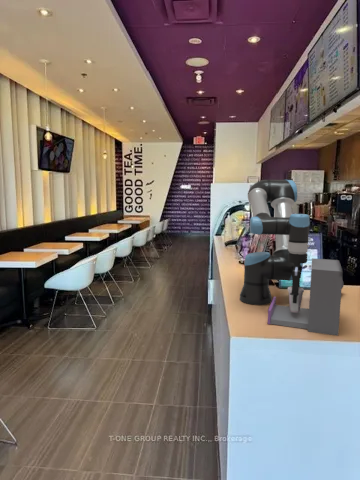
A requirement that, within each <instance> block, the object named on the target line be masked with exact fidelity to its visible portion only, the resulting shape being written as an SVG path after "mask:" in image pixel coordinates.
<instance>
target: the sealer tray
mask: <svg viewBox="0 0 360 480" xmlns="http://www.w3.org/2000/svg"><path fill="white" fill-rule="evenodd" d="M308 318H309V308H306V307H300V311H299V312H298V313H294V312H291V311H290V305H289V306H288V305H279V304H277V296H273V298H272V302H271V303H270V305H269V307H268V309H267V324H268V325H275V326H277V325H278V326H282V327H283V326H284V327H290V328H292V327H293V328H297V329H306V330H308Z"/></svg>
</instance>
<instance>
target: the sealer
mask: <svg viewBox="0 0 360 480" xmlns="http://www.w3.org/2000/svg"><path fill="white" fill-rule="evenodd" d="M343 274H344V271H343V268H342V266H341V262H340V260H338V259H329V258H327V259H325V258H311V270H310V286H309V287H310V288H309V300H308V301H309V306H308V309H309V318H308V329H307V332H310V333H316V334H324V335H330V336H331V335H332V336H339V330H340V329H339V328H340V316H341V315H340V313H341V303H342V302H341V300H342V290H343V288H342V280H343V276H344V275H343Z"/></svg>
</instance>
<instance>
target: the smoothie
mask: <svg viewBox="0 0 360 480" xmlns="http://www.w3.org/2000/svg"><path fill="white" fill-rule="evenodd" d="M287 292H288V303H289V307H290V311H291V312H294V313H298V312H299V311H300V308H301V306H302V305H301V304H302V301H303V295H304V294H303V293H304V292H305V288H303V287H301V286H300V287H299V291H298V293H299V299H298V311H292V310H291V295H290V293H291V292H292V285H290V286H288V287H287Z"/></svg>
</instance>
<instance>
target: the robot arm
mask: <svg viewBox="0 0 360 480" xmlns="http://www.w3.org/2000/svg"><path fill="white" fill-rule="evenodd" d="M247 199H248V202H249V203H250V206H251V214H252V217H250V219H249V232H250V234H251V235H259V236H260V235H275V250H274V251H273V253H272V255H271V254H270V252H268V251H256V252H251V253H247V254H246V255H245V257H244V264H243V265H244V271H243V273H244V275H243V285H242V288H241V291H240V293H239V300H240V302H242V303H244V304H248V305H255V306H256V305H258V306H262V305H263V306H264V305H268V304H271V302H272V300H273V298H272V293H271V290H270V286H269V285H270V284H269V282H270V281H288V282H290V281H291V286H292V292H291V293H290V295H291V310H292V311H298V299H299V293H298V291H299V287H301V285H300V283H301V278H302V271H303V264H306V263H307V262H308V251H309V250H308V248H310V244H309V235H310V234H309V233H310V232H309V231H310V224H311V223H310V215H309V214H305V213H293V210H292V209H293V206H294V205H295V203H296V202H297V200H298V188H297V184H296V182H295V180H292V179H262V180H258V181H257V182H255V183H253V185H251V187H250V188H249V189H248V191H247ZM268 203H270V207H272V208H273V209H274V211H273V213H274V214H273V215H274V216H271V213H270V210H269V209H270V208H269V205H268Z"/></svg>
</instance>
